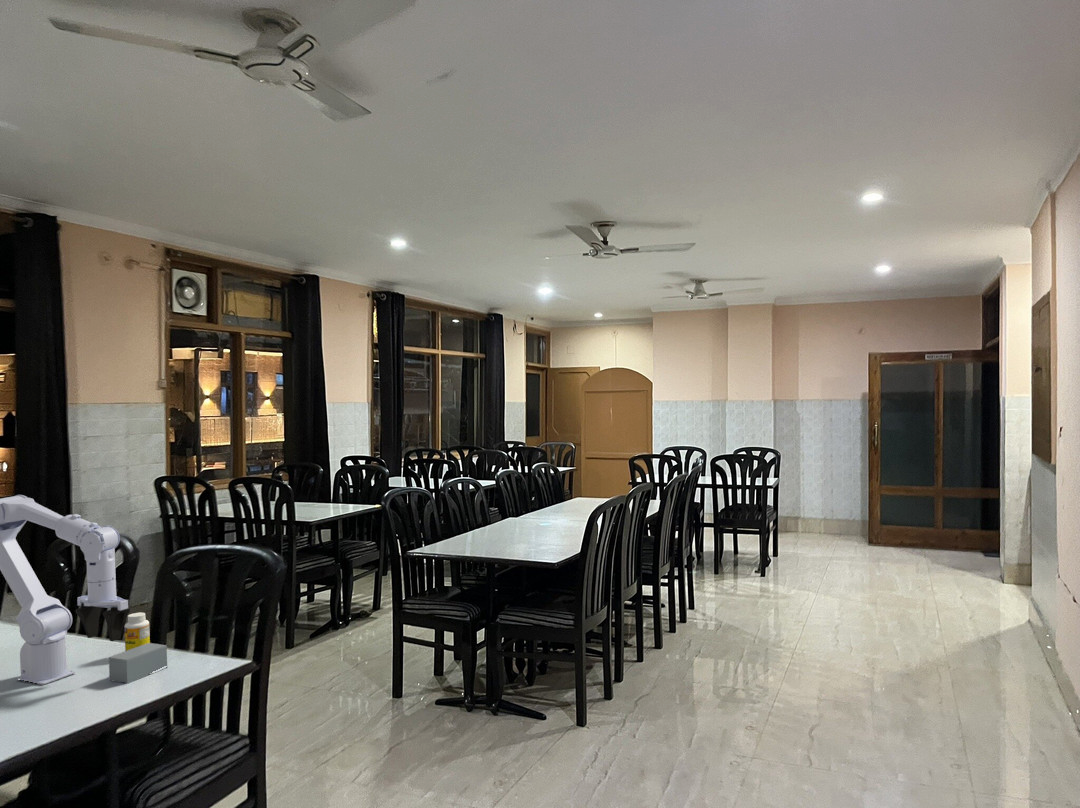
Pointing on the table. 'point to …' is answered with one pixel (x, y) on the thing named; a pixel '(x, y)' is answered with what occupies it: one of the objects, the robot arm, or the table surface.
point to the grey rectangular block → (137, 662)
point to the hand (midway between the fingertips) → (103, 638)
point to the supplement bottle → (136, 631)
